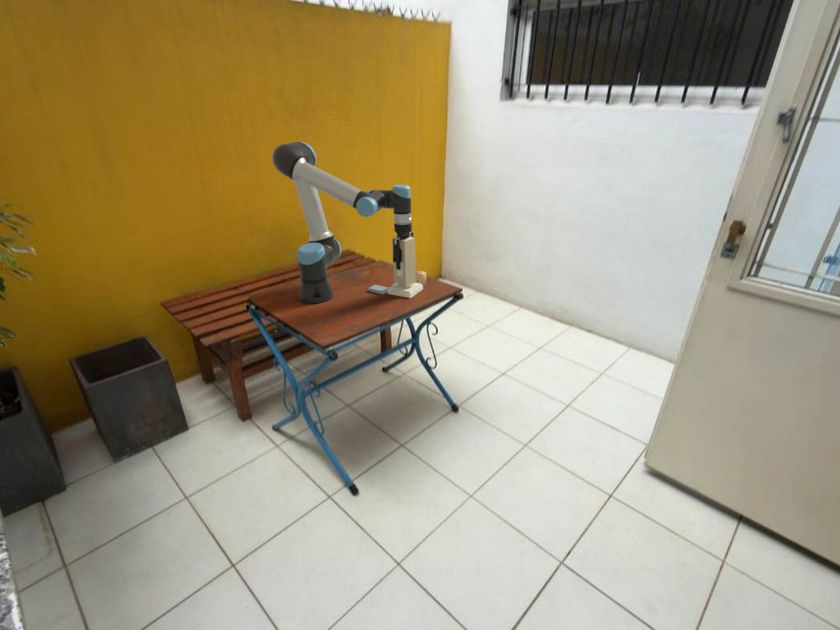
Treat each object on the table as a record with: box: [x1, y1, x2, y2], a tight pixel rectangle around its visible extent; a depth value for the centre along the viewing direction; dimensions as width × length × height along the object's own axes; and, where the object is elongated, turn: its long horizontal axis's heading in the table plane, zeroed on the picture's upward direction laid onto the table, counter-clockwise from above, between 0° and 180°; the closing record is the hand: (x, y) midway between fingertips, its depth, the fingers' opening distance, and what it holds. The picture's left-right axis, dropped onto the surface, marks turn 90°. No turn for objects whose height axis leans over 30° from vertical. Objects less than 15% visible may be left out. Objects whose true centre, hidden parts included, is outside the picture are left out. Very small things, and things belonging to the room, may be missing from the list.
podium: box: [386, 283, 424, 299], centre depth 198 cm, size 12×12×3 cm
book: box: [367, 284, 389, 295], centre depth 199 cm, size 8×5×2 cm, turn 57°
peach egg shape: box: [416, 270, 427, 287], centre depth 204 cm, size 5×5×6 cm
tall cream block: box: [391, 236, 417, 287], centre depth 192 cm, size 8×7×21 cm
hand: (404, 272), depth 195 cm, fingers closed on tall cream block, 8 cm apart
